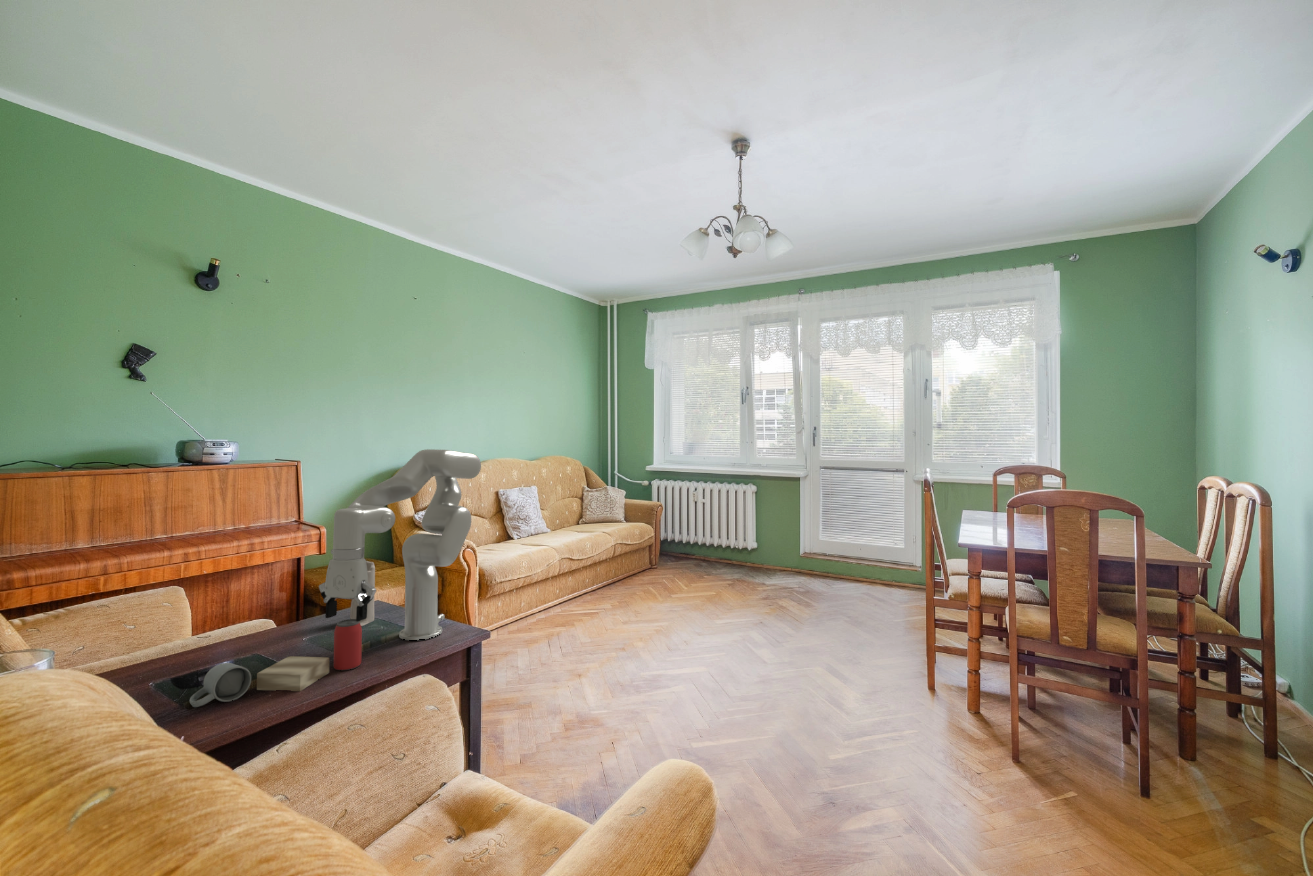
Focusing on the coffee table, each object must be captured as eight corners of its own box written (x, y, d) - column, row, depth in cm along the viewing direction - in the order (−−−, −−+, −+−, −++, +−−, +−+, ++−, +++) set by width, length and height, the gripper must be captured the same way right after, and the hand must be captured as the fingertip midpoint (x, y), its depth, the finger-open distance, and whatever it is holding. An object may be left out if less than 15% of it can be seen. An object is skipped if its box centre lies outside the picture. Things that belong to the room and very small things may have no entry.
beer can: (349, 672, 147) (349, 626, 147) (327, 670, 148) (328, 625, 148) (366, 663, 153) (367, 619, 153) (346, 660, 155) (346, 617, 155)
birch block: (288, 671, 147) (289, 656, 147) (329, 672, 147) (329, 657, 147) (256, 689, 136) (257, 673, 136) (300, 691, 136) (300, 674, 136)
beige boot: (330, 630, 179) (331, 568, 179) (360, 617, 193) (361, 559, 193) (350, 631, 178) (351, 569, 178) (378, 618, 192) (379, 560, 192)
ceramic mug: (236, 686, 138) (236, 655, 138) (252, 694, 134) (251, 662, 134) (183, 703, 129) (183, 670, 129) (197, 713, 125) (197, 679, 125)
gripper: (310, 554, 149) (307, 619, 149) (365, 558, 145) (363, 625, 145) (332, 550, 156) (330, 612, 156) (385, 554, 153) (383, 617, 152)
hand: (346, 618), depth 150 cm, fingers open, 9 cm apart
